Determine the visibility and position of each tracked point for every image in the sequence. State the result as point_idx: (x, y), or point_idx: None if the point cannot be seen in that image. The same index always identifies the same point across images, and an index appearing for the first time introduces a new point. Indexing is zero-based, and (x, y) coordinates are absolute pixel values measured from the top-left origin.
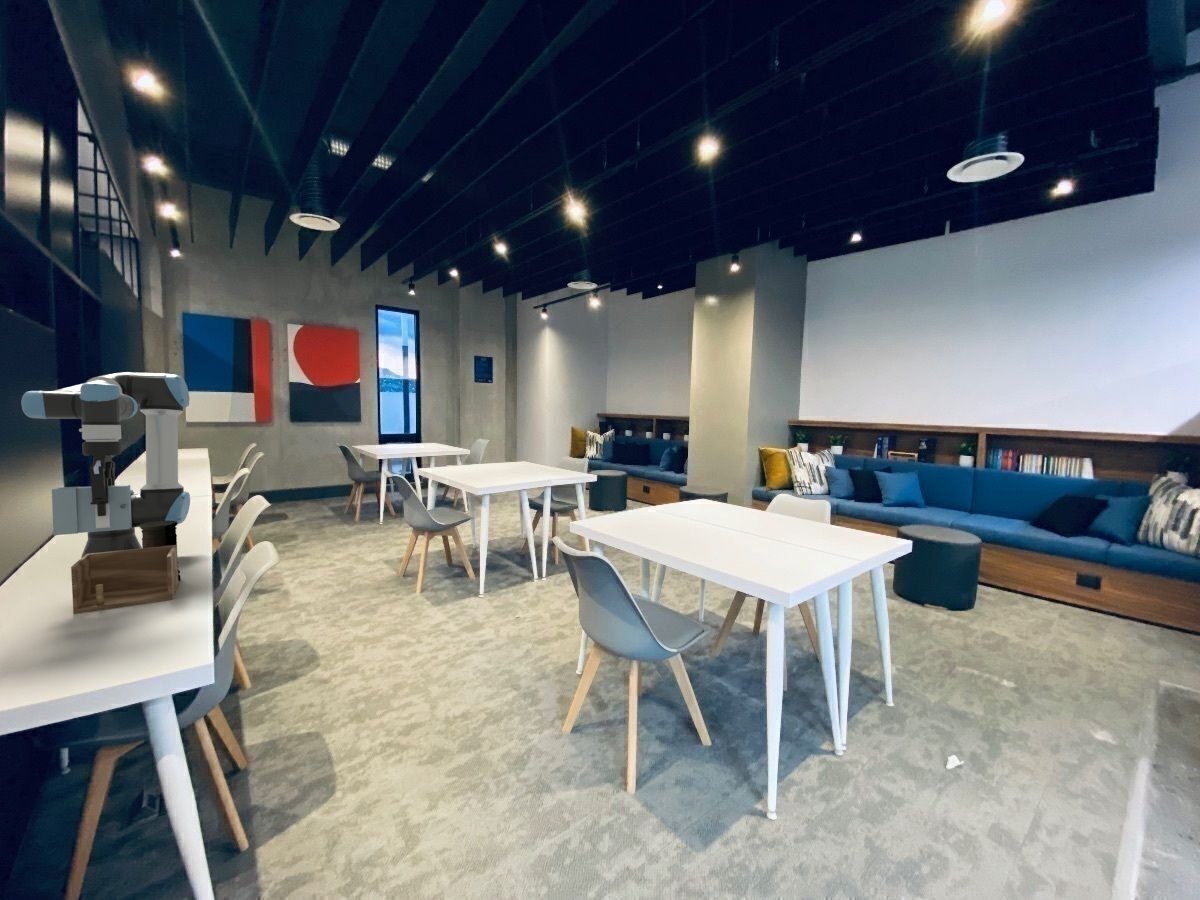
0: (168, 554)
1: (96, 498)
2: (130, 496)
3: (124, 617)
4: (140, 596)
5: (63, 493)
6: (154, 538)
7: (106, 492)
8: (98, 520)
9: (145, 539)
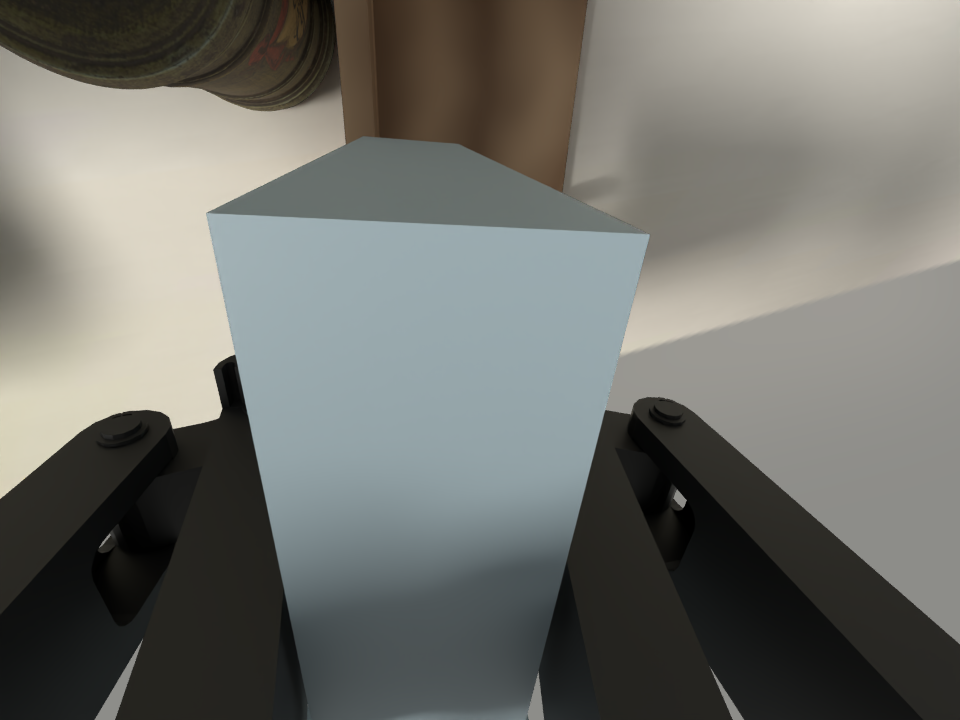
0: None
1: (669, 501)
2: (324, 164)
3: (689, 119)
4: (523, 87)
5: None
6: None
7: (634, 495)
8: None
9: (244, 51)
